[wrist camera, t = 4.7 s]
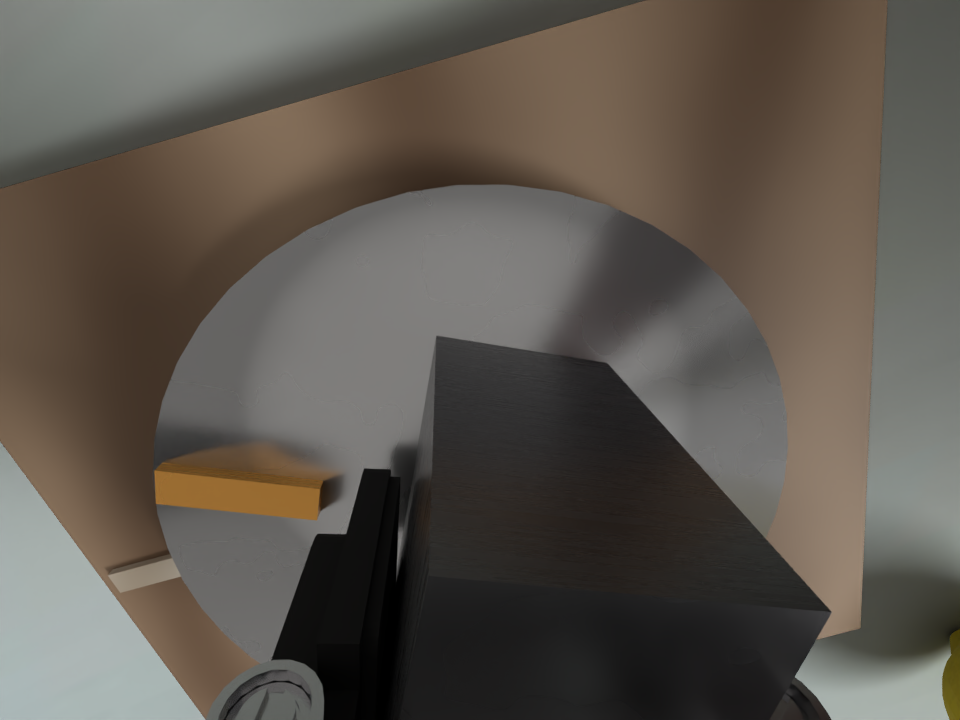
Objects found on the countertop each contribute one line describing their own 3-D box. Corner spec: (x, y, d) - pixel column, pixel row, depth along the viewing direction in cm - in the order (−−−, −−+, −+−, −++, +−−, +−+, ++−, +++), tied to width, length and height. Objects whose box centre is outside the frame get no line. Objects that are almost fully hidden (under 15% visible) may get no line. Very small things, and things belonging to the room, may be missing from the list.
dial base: (827, -37, 10) (900, -77, 8) (825, 590, 16) (865, 633, 15) (-74, 226, 10) (-166, 234, 9) (269, 734, 17) (251, 792, 15)
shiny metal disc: (859, 255, 10) (1566, 384, 4) (657, 698, 15) (822, 1097, 9) (168, 111, 8) (-751, -114, 2) (183, 670, 13) (-72, 1157, 7)
